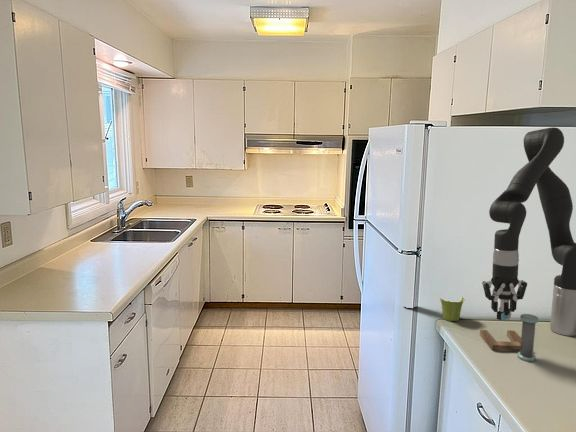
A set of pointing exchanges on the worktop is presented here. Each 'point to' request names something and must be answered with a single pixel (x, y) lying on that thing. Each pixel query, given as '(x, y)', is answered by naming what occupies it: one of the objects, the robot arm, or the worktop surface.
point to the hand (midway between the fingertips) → (503, 310)
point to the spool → (527, 337)
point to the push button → (504, 306)
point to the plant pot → (451, 309)
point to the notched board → (502, 345)
